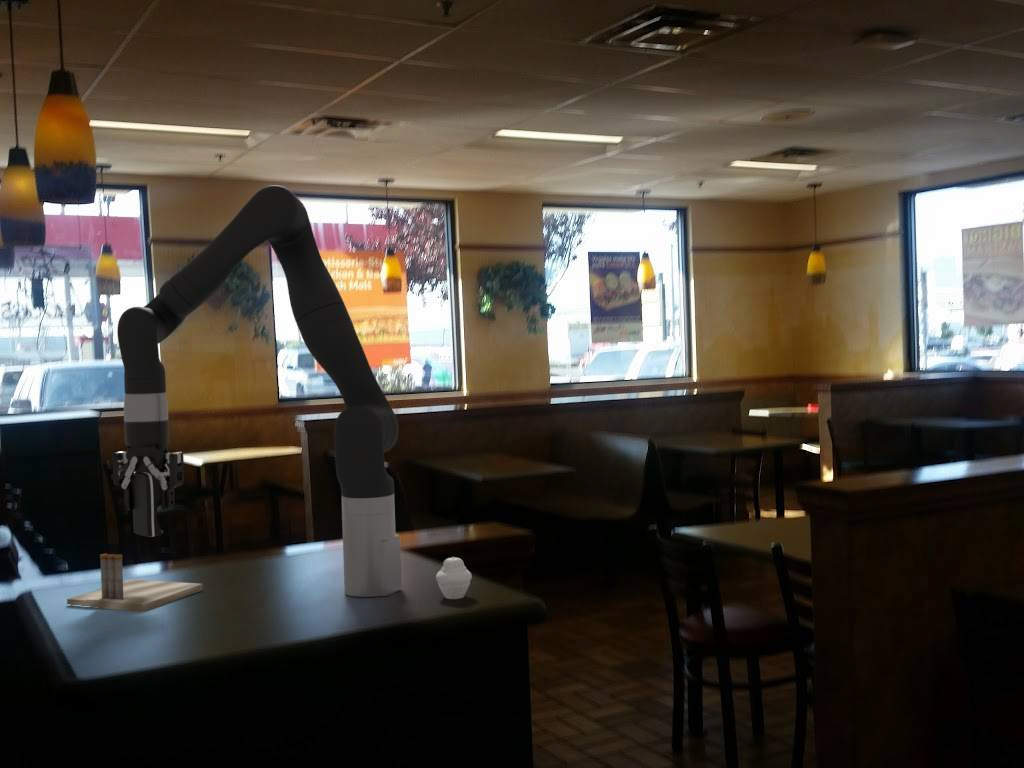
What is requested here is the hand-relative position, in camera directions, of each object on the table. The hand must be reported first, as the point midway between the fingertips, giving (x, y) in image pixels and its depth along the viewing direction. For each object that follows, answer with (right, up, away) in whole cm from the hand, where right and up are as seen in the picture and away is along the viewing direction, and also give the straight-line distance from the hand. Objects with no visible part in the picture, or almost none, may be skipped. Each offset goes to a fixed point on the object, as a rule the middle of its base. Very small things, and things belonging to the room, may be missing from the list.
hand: (149, 509), depth 187 cm
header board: (-1, -15, -3) cm, 16 cm away
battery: (0, -5, 0) cm, 5 cm away
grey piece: (+55, -14, -9) cm, 58 cm away
